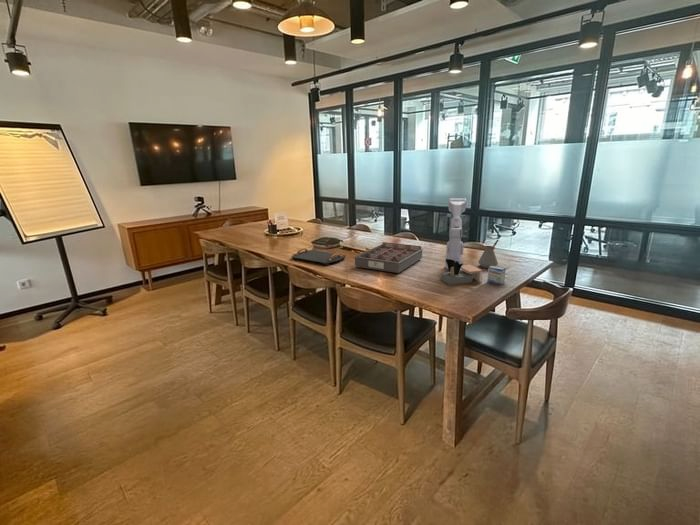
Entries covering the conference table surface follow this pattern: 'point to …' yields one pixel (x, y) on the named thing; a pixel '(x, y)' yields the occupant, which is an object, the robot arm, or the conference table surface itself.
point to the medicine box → (496, 275)
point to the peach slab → (473, 272)
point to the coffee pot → (488, 257)
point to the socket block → (457, 278)
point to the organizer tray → (389, 257)
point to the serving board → (318, 256)
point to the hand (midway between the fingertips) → (453, 273)
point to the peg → (452, 272)
